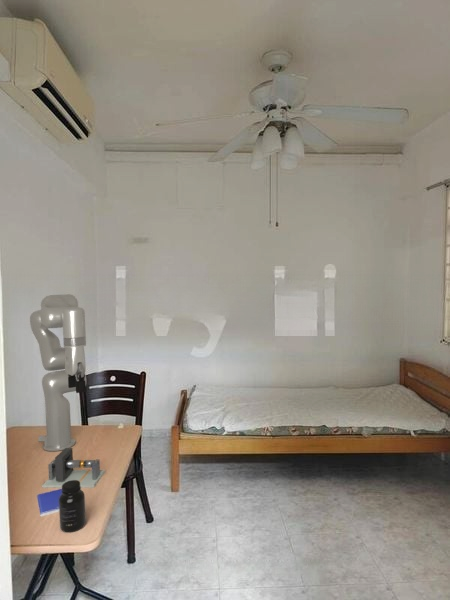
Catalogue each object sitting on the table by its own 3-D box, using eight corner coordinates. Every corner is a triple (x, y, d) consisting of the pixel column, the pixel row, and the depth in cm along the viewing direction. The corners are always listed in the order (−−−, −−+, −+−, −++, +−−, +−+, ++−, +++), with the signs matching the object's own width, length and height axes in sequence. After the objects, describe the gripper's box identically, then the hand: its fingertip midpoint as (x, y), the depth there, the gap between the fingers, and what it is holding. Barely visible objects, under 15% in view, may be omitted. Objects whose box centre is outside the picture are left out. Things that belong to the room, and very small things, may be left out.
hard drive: (70, 505, 122) (64, 487, 133) (40, 513, 118) (37, 494, 129) (70, 510, 122) (64, 492, 133) (40, 518, 118) (37, 499, 129)
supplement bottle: (64, 519, 116) (62, 478, 116) (88, 518, 117) (87, 477, 116) (56, 534, 109) (54, 490, 109) (82, 532, 110) (80, 489, 110)
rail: (49, 480, 139) (48, 463, 139) (54, 474, 143) (53, 458, 143) (95, 479, 138) (95, 462, 138) (100, 474, 142) (99, 457, 142)
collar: (56, 480, 137) (55, 457, 136) (66, 470, 145) (65, 448, 144) (63, 480, 137) (62, 457, 136) (73, 470, 145) (72, 448, 144)
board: (42, 487, 136) (42, 484, 136) (57, 472, 147) (57, 469, 146) (93, 487, 135) (93, 484, 135) (105, 472, 146) (105, 469, 146)
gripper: (57, 341, 150) (59, 387, 150) (70, 345, 136) (72, 396, 136) (78, 339, 154) (80, 383, 154) (93, 343, 140) (95, 392, 140)
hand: (76, 389), depth 145 cm, fingers open, 9 cm apart
